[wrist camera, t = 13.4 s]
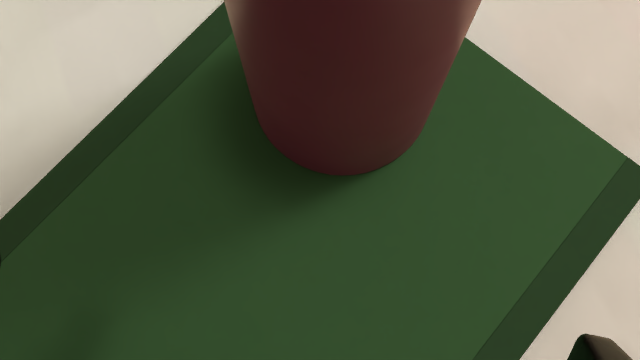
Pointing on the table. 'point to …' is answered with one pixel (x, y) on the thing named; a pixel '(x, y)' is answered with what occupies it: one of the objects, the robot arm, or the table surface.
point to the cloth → (306, 227)
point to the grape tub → (346, 74)
